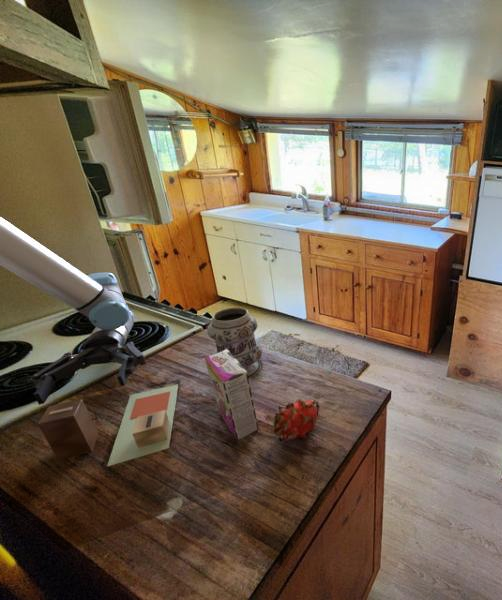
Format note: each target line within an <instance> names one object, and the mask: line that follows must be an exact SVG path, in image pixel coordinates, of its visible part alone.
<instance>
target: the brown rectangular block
mask: <svg viewBox="0 0 502 600" xmlns="http://www.w3.org/2000/svg"><path fill="white" fill-rule="evenodd" d="M37 426H38V428H39V429H40V431H41V433H42V434H43V437H44V438H45V439H46V441H47V443H48V445H49V446H50V449H51V450H52V452H53V453H54V455H55V457H56V458H57V460H58V461H64V460H66V459H69V458H73V457H74V458H75V457H77V456H80V455H85V454H88V453H91V452H93V450H94V447H95V444H96V442H97V439H98V437H99V431H98V429H97V427H96V424H95V423H94V421H93V419H92V417H91V414H90V412H89V410H88V408H87V405H86V404H85V402H84V399H82V398H81V399H75V400H72V401H67V402H62V403H58V404H53V405H49V406H48V407H47V408H46V410H45V411H44V413H43V415H42V416H41V418H40V420H39V421H38V423H37Z"/></svg>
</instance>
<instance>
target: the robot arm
mask: <svg viewBox="0 0 502 600" xmlns="http://www.w3.org/2000/svg"><path fill="white" fill-rule="evenodd" d="M0 267H2V268H4V269H5V270H7V271H9V272H11V273H12V274H15V275H16V276H18V277H19V278H21V279H22V280H24V281H26V282H27V283H30V284H31V285H34V286H35V287H36V288H38V289H39V290H42V291H43V292H45V293H47V294H49V296H51V297H54V298H55V299H57V300H59V301H60V302H62V303H64V304H65V305H67V306H69V307H71V308H72V309H74V310H76V311H77V312H79V313H80V314H82V315H84V316H85V317H87V318H88V321H89V322H90V323H91V324H92V326H94V329H93V330H92V332H91V333H90V335H89V336H88V338H87V340H86V341H85V343H84V346H83V349H82V350H81V351H80V352H79V353H77V354H72V352H69V351H68V352H66V353H64V354H63V355H62V356H61V357H60V358H58V359H57V360H55V361H53V362H51V363H50V364H48V365H47V366H46V367H44V368H42V369H41V370H39V371H38V372H36V373H34V374H33V375H31V376H30V379H31V380H32V383H33V384H34V386H35V387H34V388H35V391H34V393H33V397H34V398H35V400H36V402H37V404H38V405H39V406H41V405H45V403H46V401H47V399H49V396H50V395H51V393H52V392H53V390H54V389H55V388H56V383H57V382H59V381H61V380H63V379H65V378H67V377H68V376H70V375H71V374H74V373H76V372H77V371H79V370H85V369H87V368H88V367H90V366H93V365H97V364H104V363H107V362H110V363H114V364H116V363H117V364H119V365H121V366H120V369H119V371H118V373H117V376H116V378H117V381H118V383H119V386H120V387H125V386H126V385H127V381H128V378H129V376H130V375H132V374H134V372H135V370H136V368H137V367H138V366H139V365H140V366H144V365H146V364H147V361H146V359H145V355H144V354H143V353H142V352H141V351H140V350H139V349H138V348H137V347H136V346H135V344H134V341H128V342H127V339H128V337H129V334H130V332H131V331H132V329H133V328H134V324H135V315H134V312H133V311H132V310H130V307H129V306H128V304H127V302H126V300H125V298H124V296H123V293H122V291H121V287H120V285H119V281H118V280H117V278H116V275H115V274H114V273H111V272H107V271H106V272H93V273H89V274H86V273H84V272H83V271H81V270H80V269H78V268H76V267H75V266H74V265H72V264H71V263H69V262H68V261H66V260H64V258H62V257H60V256H59V255H57V254H56V253H55V252H53V251H52V250H50V249H48V248H47V247H45V246H44V245H42V244H41V243H40V242H38V240H37V241H36V240H35V239H34V238H32V237H30V235H28V234H27V233H25V232H23V231H22V230H20V229H19V228H18V227H16V226H14V224H11V222H9V221H7V220H5V219H4V218H3V217H2V216H0ZM126 342H127V343H126ZM123 352H125V353H123ZM126 353H127V354H129V355H127V354H126Z"/></svg>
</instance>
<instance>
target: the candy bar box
mask: <svg viewBox="0 0 502 600" xmlns="http://www.w3.org/2000/svg"><path fill="white" fill-rule="evenodd" d="M204 362H205V364H206V368H207V372H208V376H209V379H210V383H211V386H212V390H213V394H214V396H215V401H216V405H217V408H218V413H219V415H220V416H221V418H222V419H223V421H224V422H225V424H226V426H227V427H228V429H229V430H230V431H231V433H232V434H233V436H234V438H235V439H236V440H237V441H239V440H241V439H243V438H244V437H247V436H248V435H250V434H252V433H254V432H256V431H258V430H259V424H258V417H257V413H256V409H255V405H254V399H253V394H252V390H251V385H250V381H249V378H248V374H247V371H246V370H245V369H244V368H243V367H242V366H241V364H240V363H239V362H238V361H237V360H236V359H235V357H234V356H233V355H232V354H231V353H230V352H229V351H228V349H226V350H223V351H221V352H217V353H215V352H214V353H213V354H208V355H206V356H205V357H204Z"/></svg>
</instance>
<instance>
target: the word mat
mask: <svg viewBox="0 0 502 600" xmlns="http://www.w3.org/2000/svg"><path fill="white" fill-rule="evenodd" d="M178 388H179V383H177V384H172V385H168V386H163V387H159V388H155V389H151V390H146V391H142V392H137V393H134V394H130V395H129V398H128V401H127V404H126V407H125V410H124V413H123V417H122V420H121V422H120V426H119V429H118V432H117V435H116V438H115V440H114V444H113V447H112V450H111V453H110V456H109V459H108V462H107V465H106V467H107V468H108V467H110V466H114V465H117V464H121V463H123V462H128V461H131V460H134V459H137V458H141V457H144V456H147V455H150V454H151V455H152V454H154V453H158V452H160V451H161V452H162V451H164V450H167V449H170V443H171V437H172V431H173V424H174V417H175V409H176V403H177V396H178V395H177V394H178V391H179V390H178ZM163 410H165V411H166V414H167V416H168V419H169V422H170V426H169V432H168V439H167V440H165V441H161V442H158V443H154V444H151V445H147V446H144V447H140V448H138V446H137V444H136V441H135V439H134V437H133V434H132V433H133V430H134V426H135V423H136V419H137V417H139V416H143V415H147V414H151V413H155V412H159V411H163Z"/></svg>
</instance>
